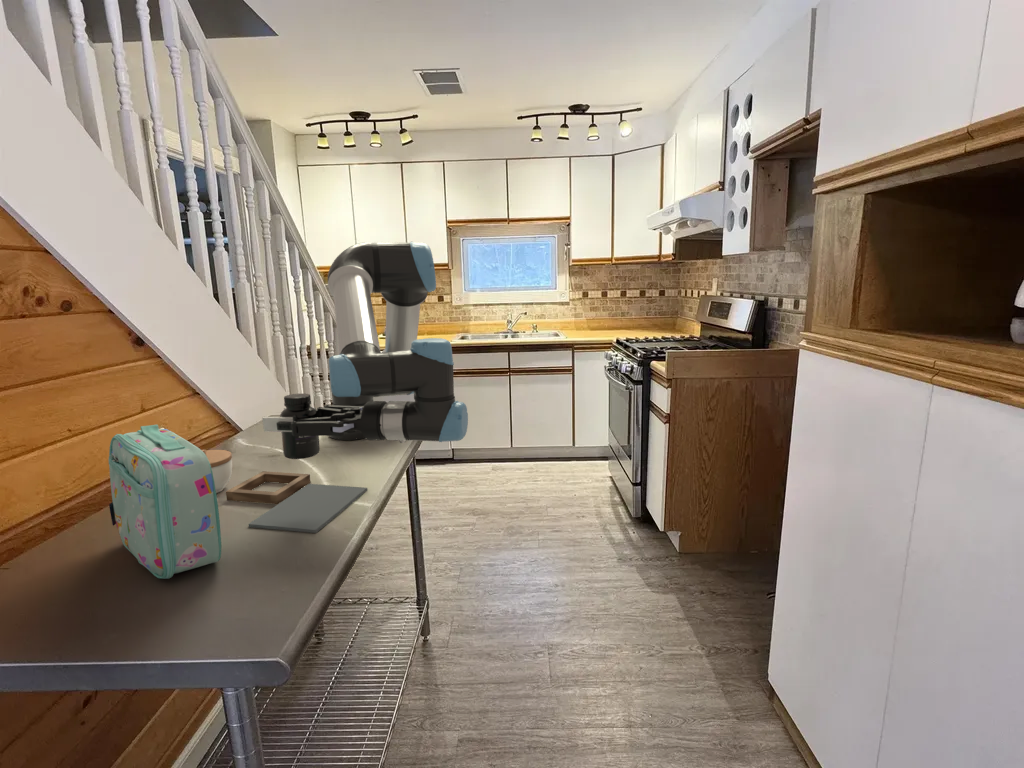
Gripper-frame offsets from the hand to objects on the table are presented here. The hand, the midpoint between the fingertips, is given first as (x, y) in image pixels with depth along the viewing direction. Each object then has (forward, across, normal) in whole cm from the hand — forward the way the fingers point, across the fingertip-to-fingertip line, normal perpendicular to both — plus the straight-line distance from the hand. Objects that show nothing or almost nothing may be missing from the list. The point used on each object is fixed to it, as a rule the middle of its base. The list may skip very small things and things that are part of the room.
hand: (275, 418), depth 106 cm
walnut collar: (+7, +7, -18) cm, 21 cm away
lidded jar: (+21, +6, -18) cm, 29 cm away
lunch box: (+10, -20, -19) cm, 29 cm away
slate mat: (-6, 0, -18) cm, 19 cm away
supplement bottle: (-5, 0, -7) cm, 9 cm away
